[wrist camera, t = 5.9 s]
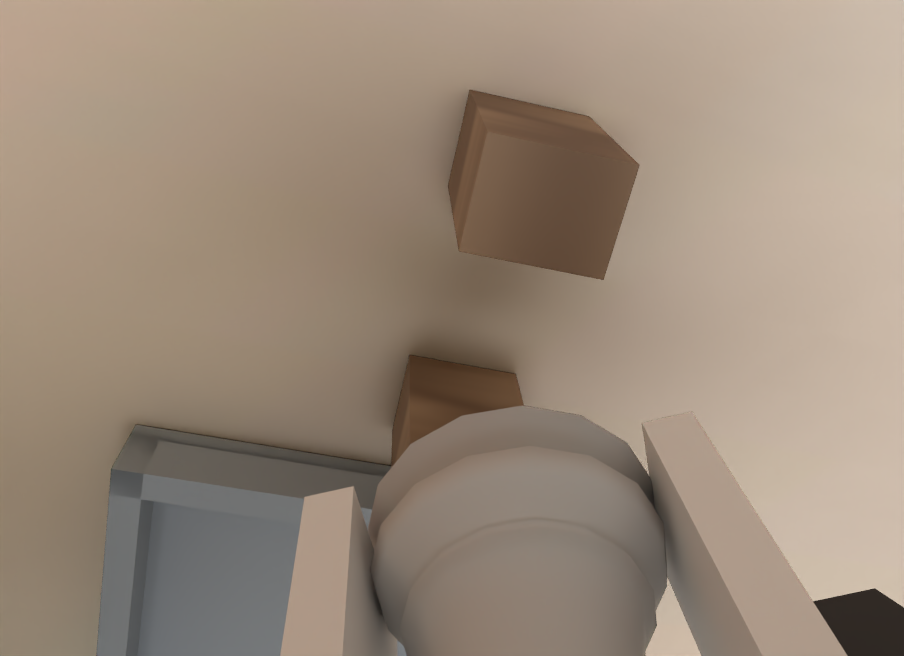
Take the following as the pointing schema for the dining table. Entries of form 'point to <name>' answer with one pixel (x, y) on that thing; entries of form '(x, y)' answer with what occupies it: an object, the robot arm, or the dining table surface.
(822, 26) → the dining table surface
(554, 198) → the walnut posts
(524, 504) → the rook chess piece
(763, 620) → the robot arm
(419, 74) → the dining table surface
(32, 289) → the dining table surface
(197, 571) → the tray
